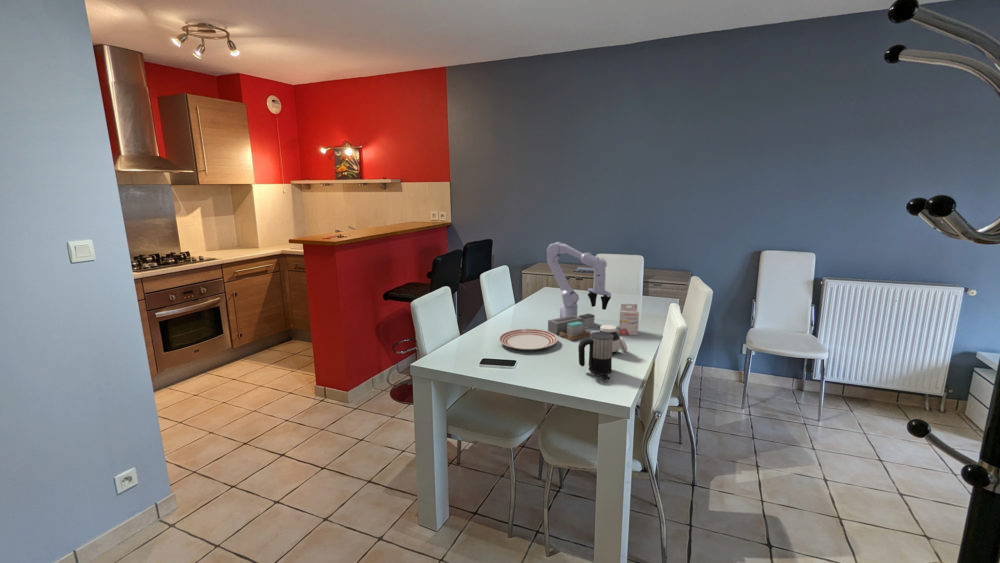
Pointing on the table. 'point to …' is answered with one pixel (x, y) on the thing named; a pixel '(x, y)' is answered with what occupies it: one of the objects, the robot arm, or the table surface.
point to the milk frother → (598, 354)
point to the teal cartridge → (574, 328)
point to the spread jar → (614, 338)
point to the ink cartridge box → (629, 319)
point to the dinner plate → (528, 339)
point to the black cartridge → (587, 320)
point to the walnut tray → (575, 337)
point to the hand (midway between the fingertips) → (598, 307)
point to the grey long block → (561, 323)
